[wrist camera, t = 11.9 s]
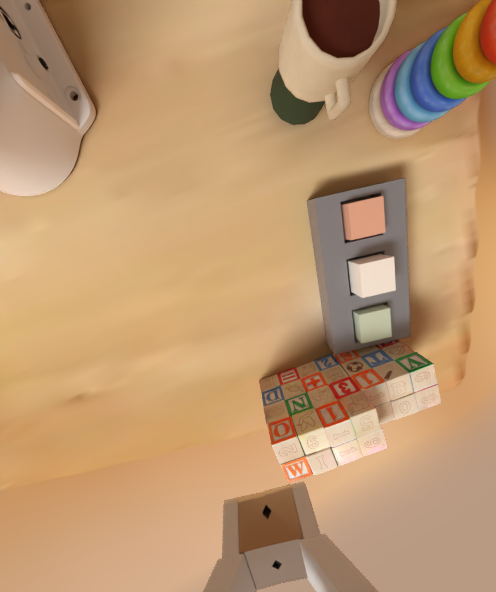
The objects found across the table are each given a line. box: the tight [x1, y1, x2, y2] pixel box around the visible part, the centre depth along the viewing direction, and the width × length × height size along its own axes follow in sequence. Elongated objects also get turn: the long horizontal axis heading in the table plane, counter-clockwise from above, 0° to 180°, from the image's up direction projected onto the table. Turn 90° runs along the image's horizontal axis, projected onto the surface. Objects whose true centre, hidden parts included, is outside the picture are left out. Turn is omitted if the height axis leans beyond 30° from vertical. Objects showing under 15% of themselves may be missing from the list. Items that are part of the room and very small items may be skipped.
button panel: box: [307, 178, 411, 354], centre depth 34 cm, size 21×11×3 cm, turn 12°
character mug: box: [270, 0, 398, 125], centre depth 23 cm, size 11×7×13 cm, turn 16°
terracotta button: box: [341, 196, 385, 240], centre depth 31 cm, size 4×4×3 cm
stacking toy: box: [369, 0, 496, 139], centre depth 21 cm, size 8×8×19 cm
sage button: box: [352, 304, 392, 343], centre depth 35 cm, size 4×4×3 cm
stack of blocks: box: [259, 340, 441, 483], centre depth 34 cm, size 21×6×12 cm, turn 111°
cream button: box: [348, 254, 396, 298], centre depth 32 cm, size 4×4×3 cm
